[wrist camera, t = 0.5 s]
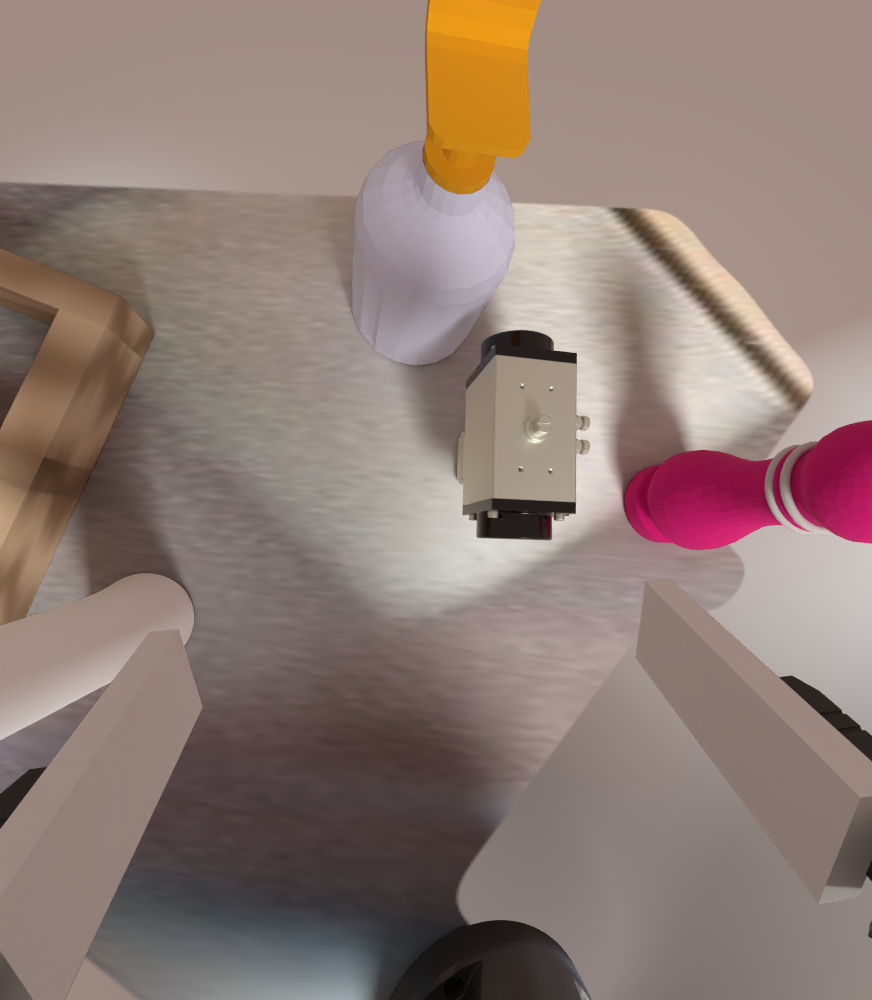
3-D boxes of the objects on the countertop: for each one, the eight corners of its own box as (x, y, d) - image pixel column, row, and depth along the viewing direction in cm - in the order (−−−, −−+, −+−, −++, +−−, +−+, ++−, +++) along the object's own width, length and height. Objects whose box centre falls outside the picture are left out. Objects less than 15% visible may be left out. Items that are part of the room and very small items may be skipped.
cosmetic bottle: (144, 687, 30) (-362, 1073, 8) (69, 625, 29) (-676, 868, 8) (215, 615, 31) (-70, 792, 10) (144, 553, 31) (-327, 594, 9)
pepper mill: (692, 459, 39) (1042, 383, 20) (699, 546, 39) (1065, 556, 19) (615, 460, 38) (907, 379, 18) (621, 550, 37) (929, 566, 18)
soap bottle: (352, 365, 34) (377, -40, 10) (351, 246, 35) (371, -400, 11) (471, 370, 36) (730, 36, 12) (467, 257, 37) (706, -277, 13)
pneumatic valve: (445, 537, 35) (498, 538, 23) (450, 383, 36) (503, 307, 24) (516, 539, 36) (602, 541, 24) (519, 389, 37) (602, 320, 25)
